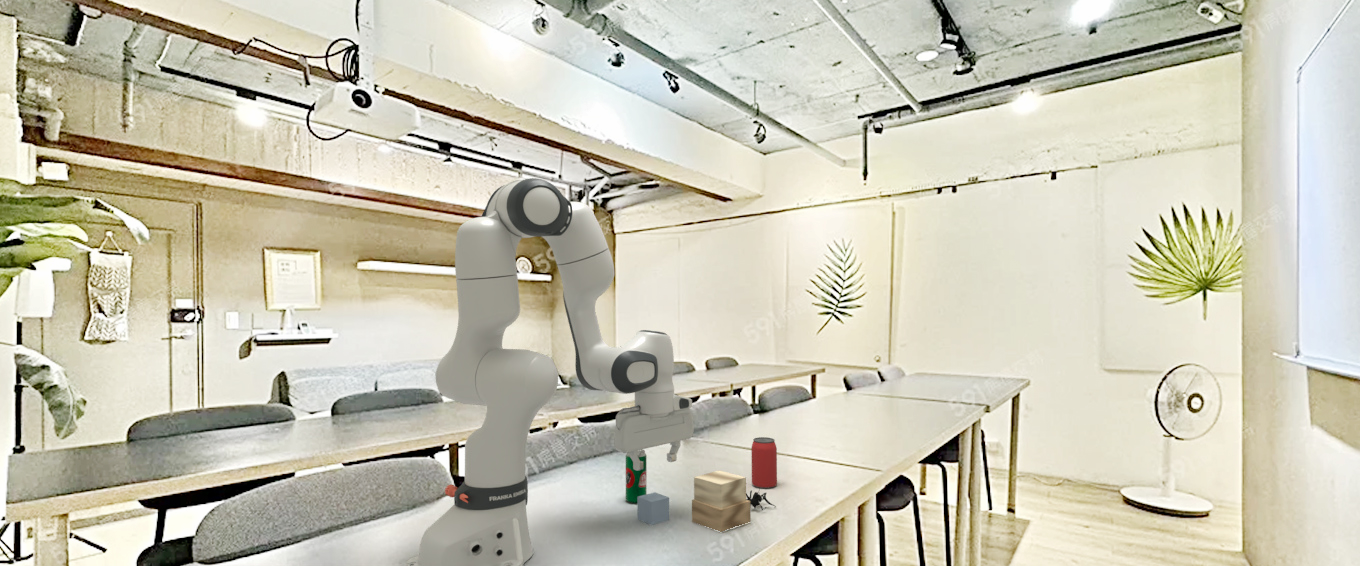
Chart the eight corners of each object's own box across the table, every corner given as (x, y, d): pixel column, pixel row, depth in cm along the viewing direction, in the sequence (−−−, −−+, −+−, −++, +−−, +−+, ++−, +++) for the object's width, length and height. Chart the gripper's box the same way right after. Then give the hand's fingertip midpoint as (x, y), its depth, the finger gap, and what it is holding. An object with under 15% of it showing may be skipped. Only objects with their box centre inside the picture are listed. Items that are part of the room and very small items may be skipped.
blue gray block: (651, 525, 133) (651, 502, 133) (637, 519, 136) (637, 496, 136) (669, 520, 136) (669, 497, 136) (655, 514, 140) (655, 492, 140)
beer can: (747, 483, 163) (746, 438, 164) (768, 480, 166) (767, 435, 167) (760, 490, 157) (760, 443, 158) (782, 487, 160) (781, 440, 161)
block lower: (721, 534, 128) (720, 510, 128) (692, 523, 135) (691, 499, 135) (750, 524, 134) (750, 500, 134) (721, 513, 141) (721, 491, 141)
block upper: (721, 508, 129) (721, 484, 129) (694, 500, 134) (694, 477, 135) (746, 500, 134) (745, 477, 134) (719, 492, 140) (719, 470, 140)
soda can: (643, 504, 146) (643, 453, 147) (623, 503, 147) (623, 452, 148) (648, 498, 151) (648, 448, 152) (628, 497, 152) (628, 448, 153)
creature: (748, 505, 149) (735, 507, 142) (749, 482, 150) (737, 483, 143) (779, 510, 145) (767, 512, 139) (780, 486, 147) (769, 487, 140)
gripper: (624, 411, 128) (625, 478, 128) (697, 399, 141) (698, 459, 141) (607, 407, 133) (608, 471, 132) (679, 395, 146) (680, 454, 146)
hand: (655, 465), depth 137 cm, fingers open, 8 cm apart
